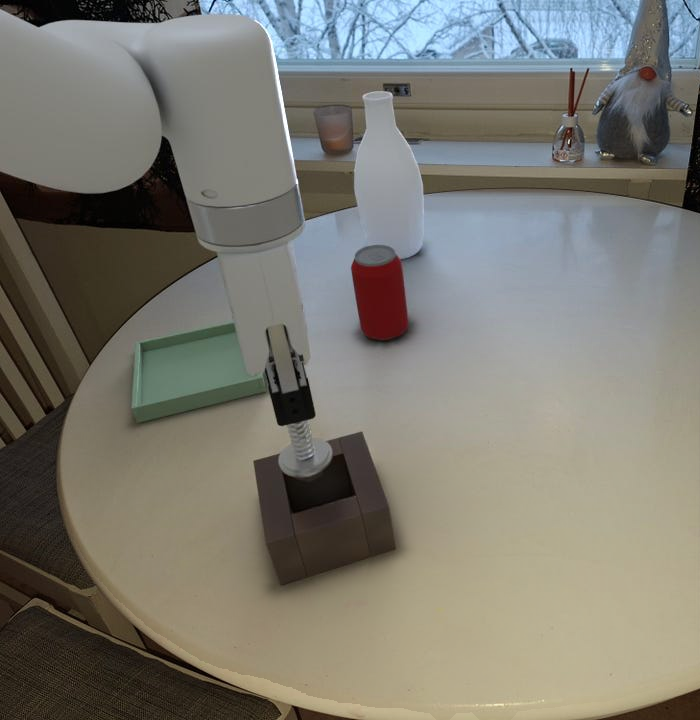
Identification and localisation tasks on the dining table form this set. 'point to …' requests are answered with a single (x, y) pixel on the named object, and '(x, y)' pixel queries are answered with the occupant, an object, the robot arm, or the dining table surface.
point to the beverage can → (380, 292)
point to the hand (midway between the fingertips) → (294, 409)
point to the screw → (304, 453)
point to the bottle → (388, 181)
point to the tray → (190, 372)
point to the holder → (324, 512)
